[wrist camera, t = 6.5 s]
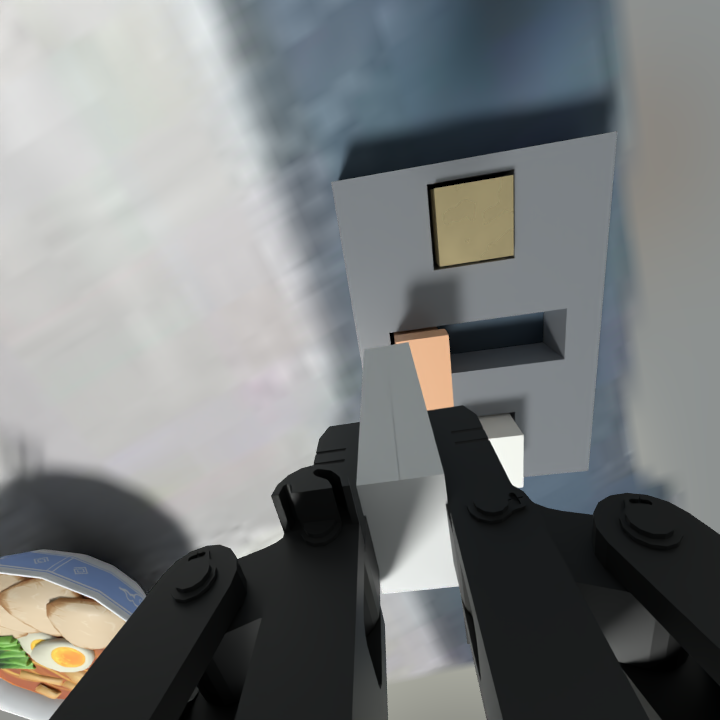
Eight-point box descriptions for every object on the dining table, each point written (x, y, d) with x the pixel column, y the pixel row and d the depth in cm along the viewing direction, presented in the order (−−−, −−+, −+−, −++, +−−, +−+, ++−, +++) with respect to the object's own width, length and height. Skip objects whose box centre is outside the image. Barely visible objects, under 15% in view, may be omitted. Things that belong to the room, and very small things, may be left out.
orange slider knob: (390, 312, 27) (395, 342, 21) (432, 306, 27) (448, 334, 21) (398, 374, 29) (405, 417, 23) (437, 369, 29) (454, 411, 23)
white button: (446, 412, 29) (457, 442, 25) (504, 405, 29) (523, 435, 25) (450, 458, 31) (460, 493, 27) (505, 452, 30) (523, 487, 27)
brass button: (425, 191, 25) (434, 188, 21) (492, 180, 24) (513, 174, 21) (430, 258, 26) (439, 266, 23) (493, 248, 26) (513, 255, 22)
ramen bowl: (180, 672, 47) (142, 762, 39) (-9, 626, 45) (-88, 712, 37) (218, 533, 37) (178, 615, 30) (-18, 467, 35) (-125, 537, 28)
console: (336, 185, 25) (331, 182, 22) (584, 141, 24) (617, 131, 20) (382, 463, 34) (383, 490, 30) (566, 444, 32) (588, 470, 29)
